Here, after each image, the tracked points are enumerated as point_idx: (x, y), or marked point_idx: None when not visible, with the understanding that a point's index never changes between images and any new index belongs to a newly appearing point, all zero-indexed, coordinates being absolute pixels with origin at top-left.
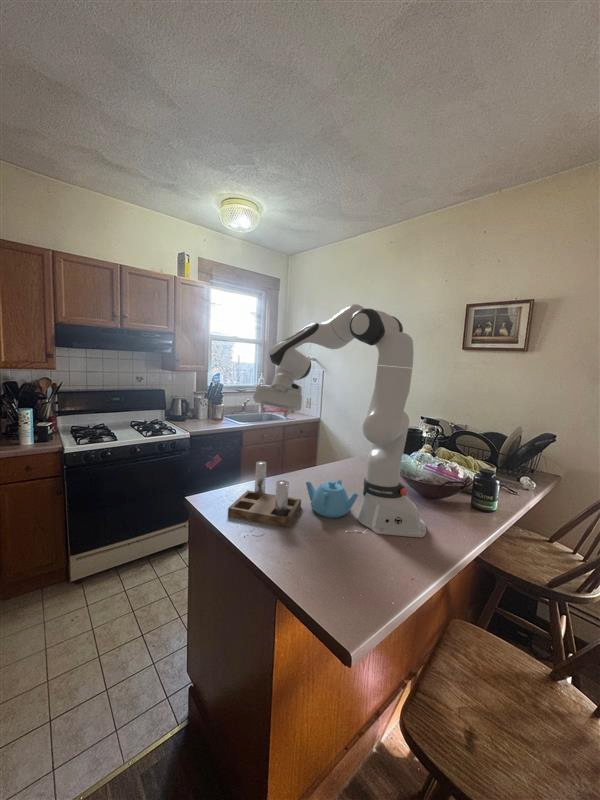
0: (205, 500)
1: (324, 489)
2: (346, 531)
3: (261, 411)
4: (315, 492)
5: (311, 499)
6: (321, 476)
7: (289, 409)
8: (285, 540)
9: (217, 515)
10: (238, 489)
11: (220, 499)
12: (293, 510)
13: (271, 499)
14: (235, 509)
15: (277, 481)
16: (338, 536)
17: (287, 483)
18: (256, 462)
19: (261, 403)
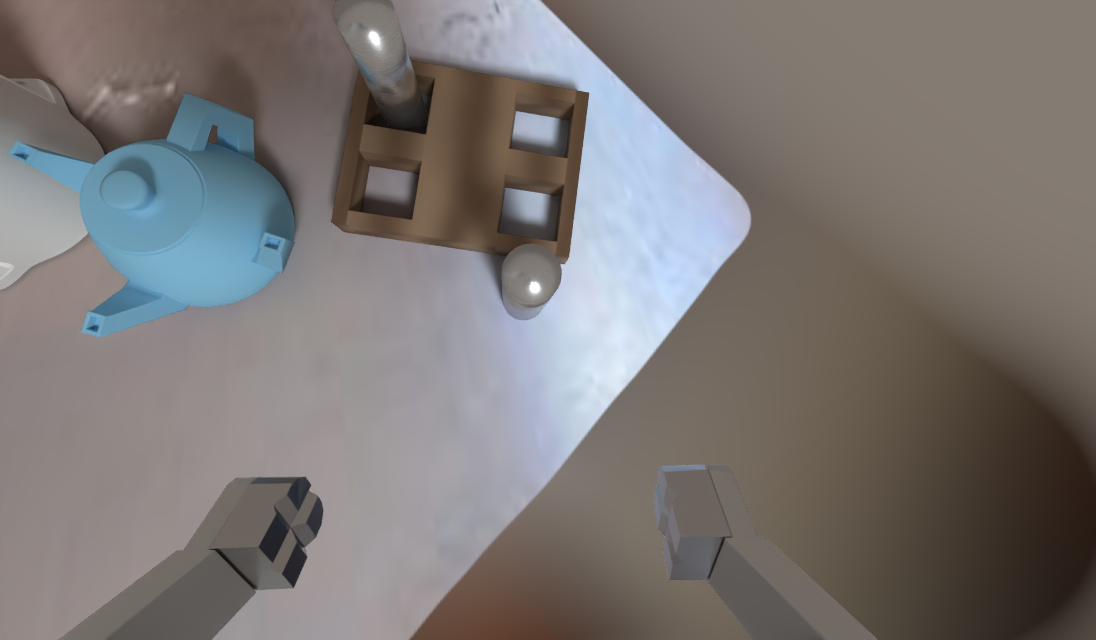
0: (699, 209)
1: (184, 156)
2: (168, 86)
3: (707, 471)
4: (247, 199)
5: (288, 238)
6: (256, 629)
7: (103, 631)
8: None
9: (617, 113)
10: (621, 335)
11: (653, 229)
12: (353, 117)
13: (453, 193)
14: (561, 88)
15: (391, 21)
16: (200, 51)
17: (338, 5)
18: (560, 275)
19: (836, 628)
